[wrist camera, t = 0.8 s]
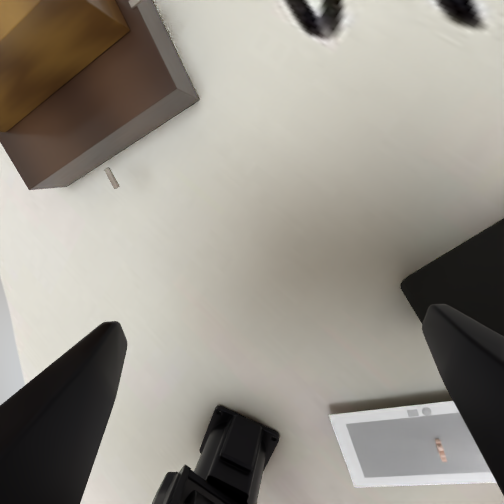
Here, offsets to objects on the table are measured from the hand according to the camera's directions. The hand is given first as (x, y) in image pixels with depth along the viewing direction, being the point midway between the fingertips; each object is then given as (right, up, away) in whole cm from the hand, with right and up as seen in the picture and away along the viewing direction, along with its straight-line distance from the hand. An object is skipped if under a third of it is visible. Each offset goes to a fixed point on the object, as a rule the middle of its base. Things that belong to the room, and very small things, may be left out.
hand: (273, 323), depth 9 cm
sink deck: (-13, +15, +14) cm, 24 cm away
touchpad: (+14, -13, +16) cm, 25 cm away
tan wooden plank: (-13, +14, +10) cm, 22 cm away
